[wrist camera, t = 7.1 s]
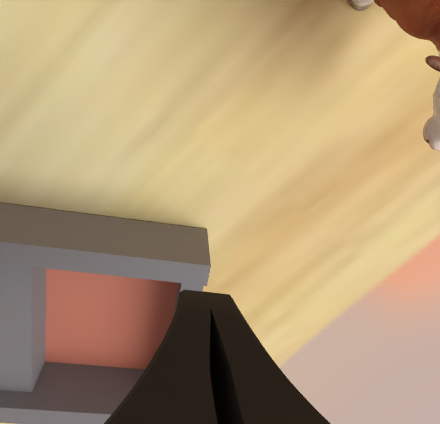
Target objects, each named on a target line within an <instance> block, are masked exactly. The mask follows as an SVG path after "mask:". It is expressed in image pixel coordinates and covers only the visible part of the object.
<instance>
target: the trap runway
mask: <svg viewBox="0 0 440 424" xmlns="http://www.w3.org/2000/svg"><path fill="white" fill-rule="evenodd" d="M210 267H211V264H210V254H209V244H208V234H207V229H203V228H195V227H187V226H180V225H172V224H164V223H156V222H148V221H140V220H133V219H125V218H117V217H109V216H101V215H93V214H86V213H78V212H70V211H62V210H54V209H46V208H39V207H31V206H23V205H15V204H7V203H0V423H17V424H104V423H105V422H106V420H107V419H108V418H109V417H110V416H111V415H112V413H113V412H114V411H115V410H116V408H117V407H118V406H119V405H120V403H121V402H122V401H123V400H124V398H125V397H126V396H127V395H128V393H129V392H130V391H131V389H132V388H133V386H134V385H135V384H136V382H137V381H138V380H139V378H140V377H141V375H142V374H143V372H144V371H145V369H146V368H147V366H148V364H149V363H150V361H151V360H152V358H153V356H154V354H155V353H156V351H157V349H158V348H159V346H160V344H161V342H162V340H163V339H164V337H165V334H166V332H167V330H168V328H169V326H170V324H171V322H172V319H173V317H174V314H175V312H176V308H177V302H178V297H179V292H181V291H183V290H193V291H202V290H203V285H204V286H207V282H208V277H209V272H210Z"/></svg>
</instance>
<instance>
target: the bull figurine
mask: <svg viewBox="0 0 440 424" xmlns="http://www.w3.org/2000/svg"><path fill="white" fill-rule="evenodd" d="M373 1H375V3H376V4H377V5H378V6H379V7H383V8H384V10H385V11H386V12H387V14H388V15H389V16H390V17H391V18H392V19H394V20H396V22H397V23H398V25H399V26H400V27H401V28H402V29H403V30H404V31H405V32H406V33H408V34H409V35H411V36H414V37H416V38H419V39H425V40H430V41H432V42H433V44H434V45H435V46H436V48H437V50H438V52H439V57H437V56H428V57H426V59H425V60H426V63H427V64H428V65H429V66H430V67H432V68H433V69H435V70H437V71H440V0H351V4H352V6H353V8H354V9H356V10H358V11H359V10H362V11H364V10H366V9H368V8H369V7H370V5H371V4H372V2H373ZM433 110H434V114H433V117H431V118H430V119H428V120H427V122H426V123H425V125H424V129H423V137H424V140H425V141H426V142H427V143H429V145H430V147H431V148H432V149H433V150H437V151H440V79H439V81H438V83H437V86H436V88H435V91H434V94H433Z"/></svg>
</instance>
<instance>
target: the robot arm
mask: <svg viewBox="0 0 440 424" xmlns="http://www.w3.org/2000/svg"><path fill="white" fill-rule="evenodd" d="M104 424H330V423H329V422H328V421H327V420H326V419H325V418H324V417H323V416H322V415H321V414H320V413H319V412H318V411H317V410H316V409H315V408H314V407H313V406H312V405H311V404H310V403H309V402H308V401H307V400H306V398H304V396H303V395H302V394H301V393H300V392H299V391H298V390H297V389H296V388H295V387H294V385H293V384H292V383H291V382H290V381H289V380H288V379H287V377H286V376H285V375H284V374H283V372H282V371H281V370H280V369H279V367H278V366H277V365H276V363H275V362H274V361H273V359H272V358H271V357H270V355H269V354H268V353H267V351H266V350H265V348H264V347H263V346H262V344H261V343H260V341H259V340H258V338H257V337H256V336H255V334H254V332H253V331H252V329H251V328H250V326H249V325H248V323H247V322H246V320H245V318H244V317H243V315H242V314H241V312H240V310H239V309H238V307H237V305H236V304H235V302H234V300H233V299H232V297H231V296H230V295H228V294H219V293H211V292H202V291H193V290H183V291H181V292H179V297H178V302H177V308H176V312H175V314H174V317H173V319H172V322H171V324H170V326H169V328H168V330H167V332H166V334H165V337H164V339H163V340H162V342H161V344H160V346H159V348H158V349H157V351H156V353H155V354H154V356H153V358H152V360H151V361H150V363H149V364H148V366H147V368H146V369H145V371H144V372H143V374H142V375H141V377H140V378H139V380H138V381H137V382H136V384H135V385H134V386H133V388H132V389H131V391H130V392H129V393H128V395H127V396H126V397H125V398H124V400H123V401H122V402H121V403H120V405H119V406H118V407H117V408H116V410H115V411H114V412H113V413H112V415H111V416H110V417H109V418H108V419H107V420H106V422H105V423H104Z"/></svg>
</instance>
